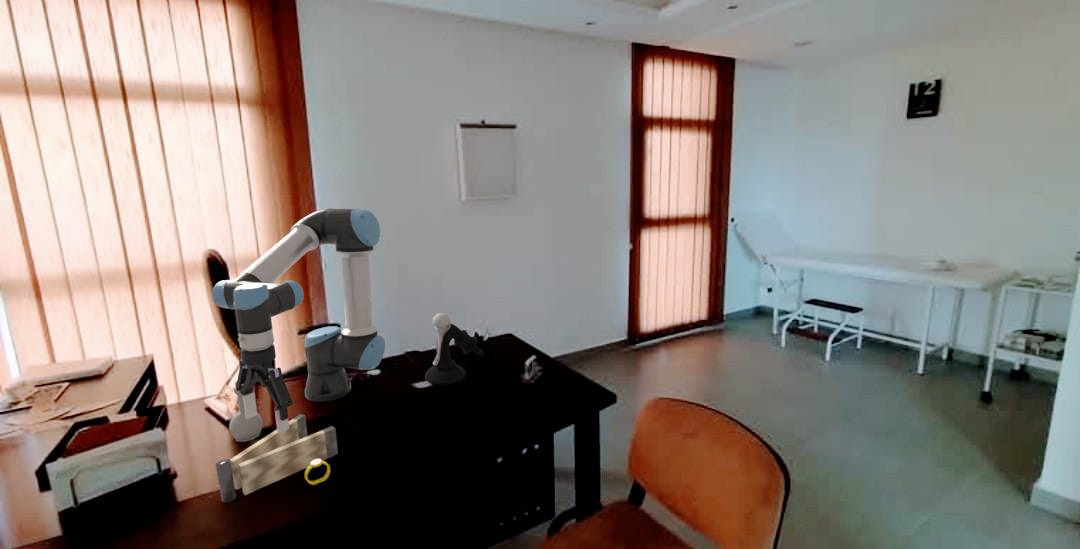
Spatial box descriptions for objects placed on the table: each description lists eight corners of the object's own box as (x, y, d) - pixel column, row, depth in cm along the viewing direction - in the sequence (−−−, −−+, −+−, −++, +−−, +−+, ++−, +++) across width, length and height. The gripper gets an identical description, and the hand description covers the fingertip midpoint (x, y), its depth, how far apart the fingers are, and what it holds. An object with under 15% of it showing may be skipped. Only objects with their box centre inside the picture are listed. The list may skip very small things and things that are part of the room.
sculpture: (419, 372, 197) (416, 310, 191) (476, 360, 208) (475, 301, 202) (432, 388, 184) (429, 322, 178) (492, 374, 195) (491, 312, 189)
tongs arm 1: (238, 489, 128) (233, 461, 126) (232, 488, 129) (228, 460, 127) (307, 439, 150) (305, 415, 149) (302, 438, 151) (300, 414, 149)
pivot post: (226, 504, 124) (220, 467, 121) (219, 500, 125) (213, 464, 123) (238, 497, 126) (232, 461, 124) (231, 493, 128) (225, 457, 125)
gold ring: (308, 489, 129) (304, 469, 128) (305, 484, 131) (301, 464, 130) (332, 478, 133) (328, 459, 131) (329, 473, 135) (325, 454, 133)
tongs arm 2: (245, 495, 126) (240, 466, 124) (242, 492, 127) (238, 463, 126) (337, 453, 144) (335, 428, 142) (334, 451, 145) (332, 426, 143)
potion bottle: (270, 430, 156) (263, 376, 152) (245, 446, 148) (237, 389, 143) (249, 425, 159) (241, 372, 154) (223, 440, 150) (214, 384, 146)
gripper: (213, 341, 130) (224, 417, 135) (273, 361, 118) (283, 443, 123) (243, 332, 136) (252, 405, 141) (302, 350, 124) (311, 429, 129)
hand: (267, 423), depth 132 cm, fingers open, 13 cm apart
